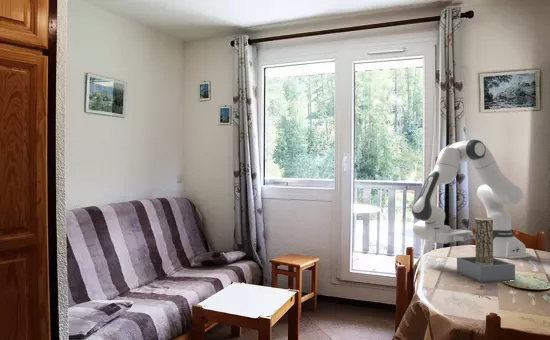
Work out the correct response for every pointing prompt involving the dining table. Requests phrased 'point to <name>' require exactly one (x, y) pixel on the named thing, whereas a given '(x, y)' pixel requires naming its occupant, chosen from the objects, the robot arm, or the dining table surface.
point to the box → (486, 270)
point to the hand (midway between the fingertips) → (470, 238)
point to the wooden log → (484, 240)
